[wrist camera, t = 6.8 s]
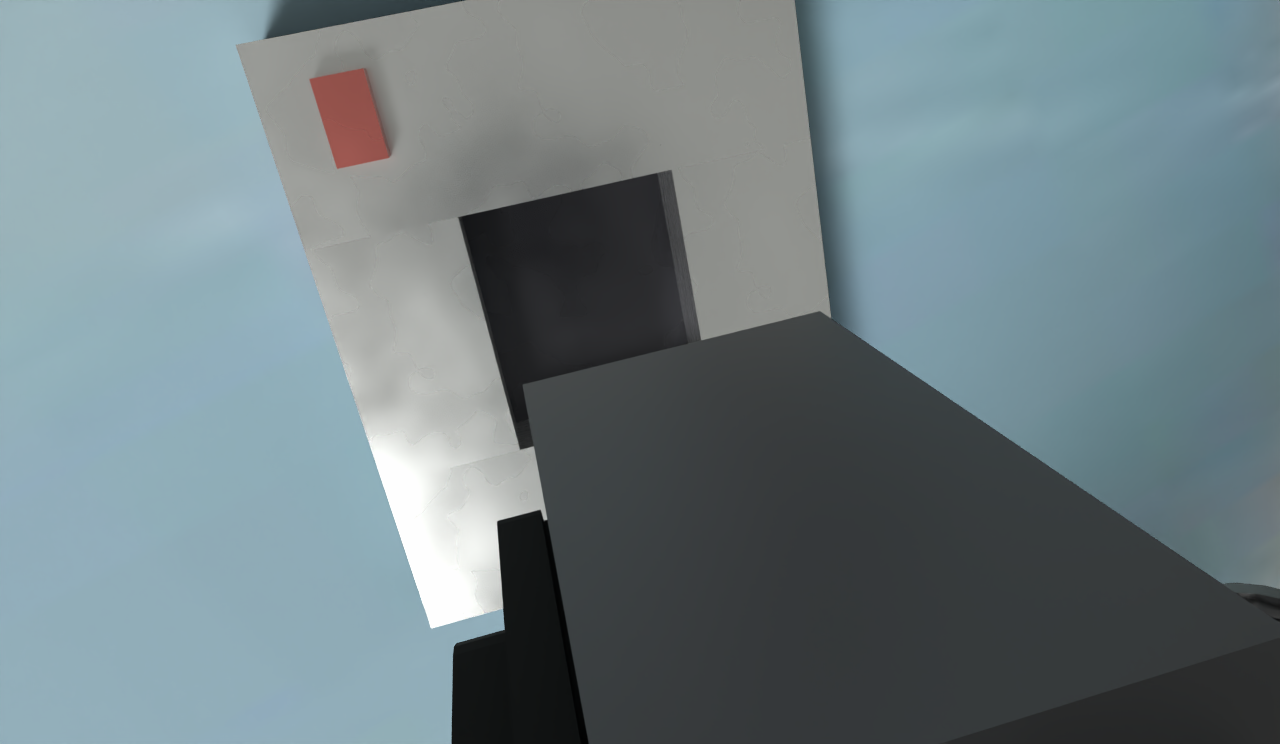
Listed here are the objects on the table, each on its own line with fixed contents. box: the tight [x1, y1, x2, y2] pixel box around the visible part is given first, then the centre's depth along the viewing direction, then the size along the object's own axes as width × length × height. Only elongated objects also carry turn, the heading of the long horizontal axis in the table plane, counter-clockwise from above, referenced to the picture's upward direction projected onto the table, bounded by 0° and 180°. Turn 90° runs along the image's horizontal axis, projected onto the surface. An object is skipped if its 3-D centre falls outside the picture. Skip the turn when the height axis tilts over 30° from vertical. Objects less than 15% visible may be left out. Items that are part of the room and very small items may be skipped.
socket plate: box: [236, 0, 831, 628], centre depth 24 cm, size 16×13×3 cm
